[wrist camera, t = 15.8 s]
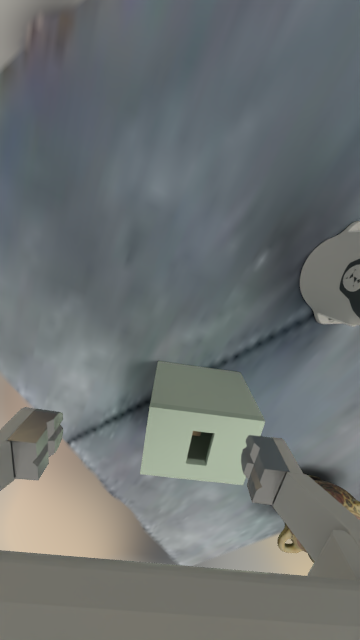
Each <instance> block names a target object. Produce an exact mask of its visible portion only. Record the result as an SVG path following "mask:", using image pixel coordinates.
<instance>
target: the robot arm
mask: <svg viewBox="0 0 360 640" xmlns="http://www.w3.org/2000/svg"><path fill="white" fill-rule="evenodd" d="M300 290H301V293H302V296H303V298H304V300H305V301H306V303H307V304H308V305H309V306H310V307H311V308H312V310H313V312H314V316H315V319H316V321H317V322H318V323H321V324H346V325H349V326H353V327H355V326H356V325H360V221H355V222H353V223H352V224H350V225H349V226H348V227H347V228H346V229H345V230H344V231H343V232H342V233H340V234H339V235H337V236H334V237H332V238H330V239H328V240H326V241H324V242H323V243H321V244H320V245H319V246H318V247H317V248H316V249H315V250H314V251H313V252H312V253H311V254H310V255H309V257H308V258H307V260H306V262H305V264H304V266H303V268H302V271H301V276H300ZM328 318H329V319H328ZM62 420H63V413H61V412H56V411H49V410H42V409H33V408H27V407H25V408H22V409H21V410H20V411H19V412H18V413H17V414H16V415H15V416H14V417H13V418H12V419H11V420H10V421H9V422H8V423H7V424H6V425H5V426H4V427H3V428H2V429H1V430H0V491H1V490H2V489H3V488H5V487H6V486H7V485H8V484H10V483H11V482H12V481H14V479H27V480H39V478H40V477H41V475H42V473H43V472H44V470H45V468H46V467H47V465H48V464H49V463H48V457H50V456H51V455H53V454H54V453H55V452H56V450H57V448H58V447H59V444H60V442H61V439H62V435H63V428H62V426H61V425H60V423H61V422H62ZM245 442H246V445H247V447H245V448H244V449H243V451H242V454H241V465H242V470H243V474H244V475H245V476H246V477H247V478H248V479H249V480H248V483H247V487H248V490H249V494H250V497H251V500H252V502H253V503H261V504H268V505H273V508H274V509H275V510H276V512H277V513H278V514H279V515H280V517H281V518H282V519H283V521H284V522H285V523H286V525H287V526H288V527H289V529H290V530H291V531H292V533H293V534H294V535H295V536H296V538H297V539H298V540H299V542H300V543H301V544H302V546H303V547H304V548H305V550H306V551H307V552H308V554H309V555H310V556H311V557H312V559H313V560H314V561H315V563H314V564H313V566H312V568H311V570H310V571H309V573H308V576H301V575H288V574H276V573H264V572H253V571H241V570H228V569H217V568H205V567H194V566H182V565H169V564H157V563H146V562H134V561H122V560H109V559H98V558H86V557H73V556H61V555H50V554H37V553H26V552H14V551H1V550H0V640H360V520H359V519H358V518H357V517H356V516H354V515H353V514H352V513H351V512H350V511H349V510H347V509H346V508H345V507H344V506H343V505H342V504H341V503H339V502H338V501H337V500H336V499H335V498H334V497H332V496H331V495H330V494H329V493H328V492H327V491H325V490H324V489H323V488H322V487H321V486H320V485H318V484H317V483H316V482H315V481H314V480H313V479H312V478H310V477H309V476H308V475H306V474H303V472H302V471H301V469H300V467H299V465H298V464H297V462H296V460H295V458H294V457H293V455H292V453H291V451H290V450H289V448H288V446H287V444H286V443H285V441H284V440H283V439H282V438H272V437H271V438H270V437H263V436H254V435H248V437H247V439H246V441H245Z"/></svg>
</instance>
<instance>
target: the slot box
mask: <svg viewBox="0 0 360 640" xmlns="http://www.w3.org/2000/svg"><path fill="white" fill-rule="evenodd" d="M264 424H265V420H264V418H263V416H262V414H261V412H260V410H259V408H258V406H257V404H256V402H255V400H254V398H253V396H252V394H251V392H250V390H249V388H248V386H247V384H246V382H245V381H244V379H243V377H242V375H241V373H240V372H234V371H227V370H220V369H212V368H205V367H198V366H191V365H183V364H176V363H169V362H162V361H158V364H157V369H156V375H155V380H154V386H153V391H152V396H151V402H150V408H149V415H148V422H147V429H146V436H145V443H144V450H143V457H142V464H141V472H140V474H144V475H153V476H162V477H172V478H181V479H191V480H200V481H209V482H219V483H228V484H237V485H243V484H244V481H245V478H246V476H245V475H244V474H243V470H242V465H241V454H242V451H243V449H244V448H245V447H247V445H246V442H245V441H246V439H247V437H248V435H254V436H260V435H261V432H262V430H263V427H264ZM193 431H198V432H201V435H200V436H194V435H192V433H193Z"/></svg>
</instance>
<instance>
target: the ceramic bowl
mask: <svg viewBox="0 0 360 640" xmlns="http://www.w3.org/2000/svg"><path fill="white" fill-rule="evenodd" d="M308 476H309V477H310V478H312V479H313V480H314V481H315V482H316V483H317V484H318V485H320V486H321V487H322V488H323V489H324V490H325V491H327V492H328V493H329V494H330V495H331V496H332V497H334V498H335V499H336V500H337V501H338V502H339V503H341V504H342V505H343V506H344V507H345V508H346V509H347V510H349V511H350V512H351V513H352V514H353V515H354V516H356V517H357V518H358V519H359V520H360V502H359V501H357V500H356V499H355V498H354V497H353V496H352V495H351V494H350V493H348V492H347V491H346V490H344V489H342V488H341V487H339V486H337V485H334V484H332V483H329V482H325V481H322V480H321V479H320V478H318V477H316V476H312V475H308ZM287 539H291V540H292V541H293V543H292V544H286V543H285V542H286V540H287ZM278 546H279V548H280V549H281V550H282V551H284V552H286V553H298V552H300V551H305V552H307V551H306V550H305V548H304V547H303V546H302V544H301V543H300V542H299V540H298V539H297V538H296V536H295V535H294V534H293V533H292V531H291V530H290V529H289V527H288V526H287V525H286V523H285V528H284V530H283V531H282V532H281V533H280V535H279V537H278ZM307 553H308V552H307ZM308 555H309V554H308ZM309 557H310V559H311V560H312V562H314V563H315V561H314V560H313V559H312V557H311V556H310V555H309Z"/></svg>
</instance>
